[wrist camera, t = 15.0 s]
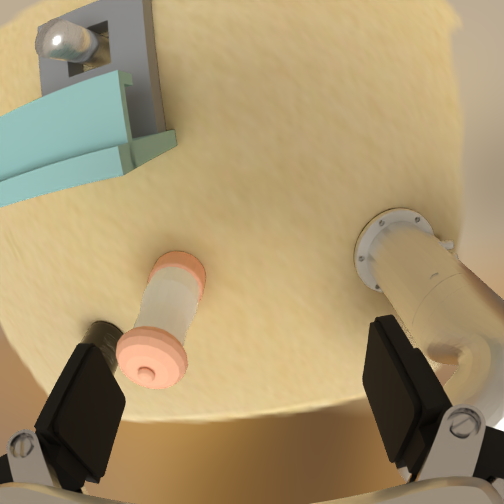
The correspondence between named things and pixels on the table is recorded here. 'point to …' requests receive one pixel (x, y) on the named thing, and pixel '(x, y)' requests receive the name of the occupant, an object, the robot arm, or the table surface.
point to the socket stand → (88, 111)
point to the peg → (72, 44)
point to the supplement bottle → (104, 341)
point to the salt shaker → (163, 323)
